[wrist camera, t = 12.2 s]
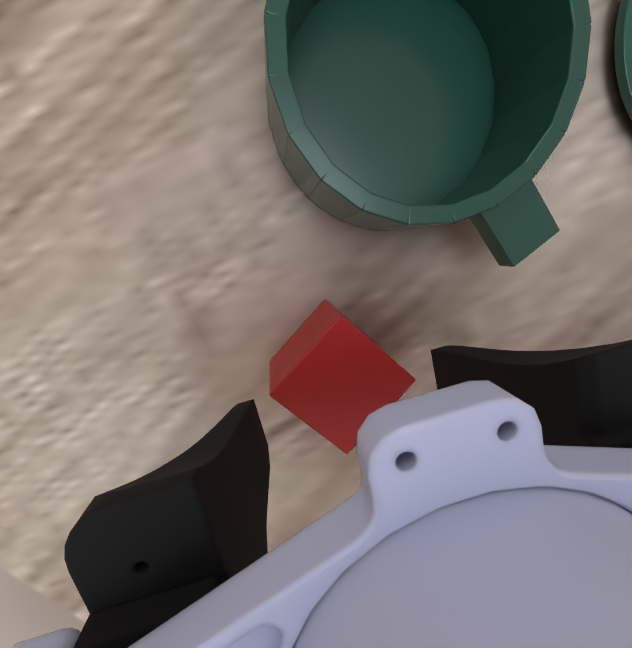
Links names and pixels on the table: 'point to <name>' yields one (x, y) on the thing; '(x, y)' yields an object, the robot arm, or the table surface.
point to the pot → (426, 109)
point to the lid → (624, 53)
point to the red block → (335, 376)
